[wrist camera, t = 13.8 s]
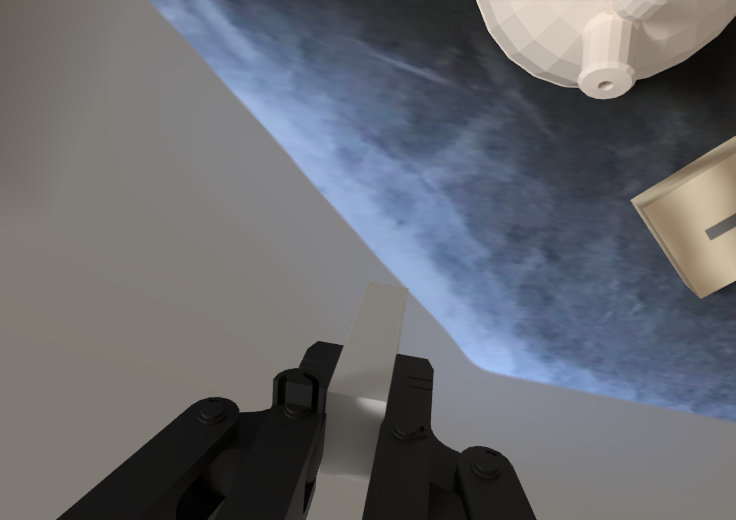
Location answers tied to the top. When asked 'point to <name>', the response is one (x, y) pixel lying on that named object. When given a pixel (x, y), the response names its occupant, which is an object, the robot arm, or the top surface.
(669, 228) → the fader console
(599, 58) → the kettle
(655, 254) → the top surface
